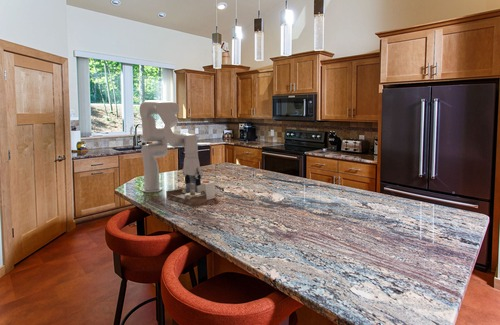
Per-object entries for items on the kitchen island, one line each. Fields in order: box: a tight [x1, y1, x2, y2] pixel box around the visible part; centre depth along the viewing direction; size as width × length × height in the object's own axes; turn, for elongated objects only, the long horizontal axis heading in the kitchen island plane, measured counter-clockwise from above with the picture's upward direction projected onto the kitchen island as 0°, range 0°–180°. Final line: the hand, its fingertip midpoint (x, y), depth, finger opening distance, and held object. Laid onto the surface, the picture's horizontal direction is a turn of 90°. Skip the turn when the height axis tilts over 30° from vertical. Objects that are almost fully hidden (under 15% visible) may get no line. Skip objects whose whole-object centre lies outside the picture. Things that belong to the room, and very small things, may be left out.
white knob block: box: [197, 180, 216, 201], centre depth 202 cm, size 8×8×10 cm
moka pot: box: [182, 165, 198, 193], centre depth 217 cm, size 10×15×20 cm, turn 55°
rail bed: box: [165, 187, 208, 207], centre depth 198 cm, size 24×11×4 cm, turn 49°
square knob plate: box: [184, 184, 201, 199], centre depth 193 cm, size 7×7×9 cm
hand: (192, 184), depth 192 cm, fingers open, 9 cm apart
